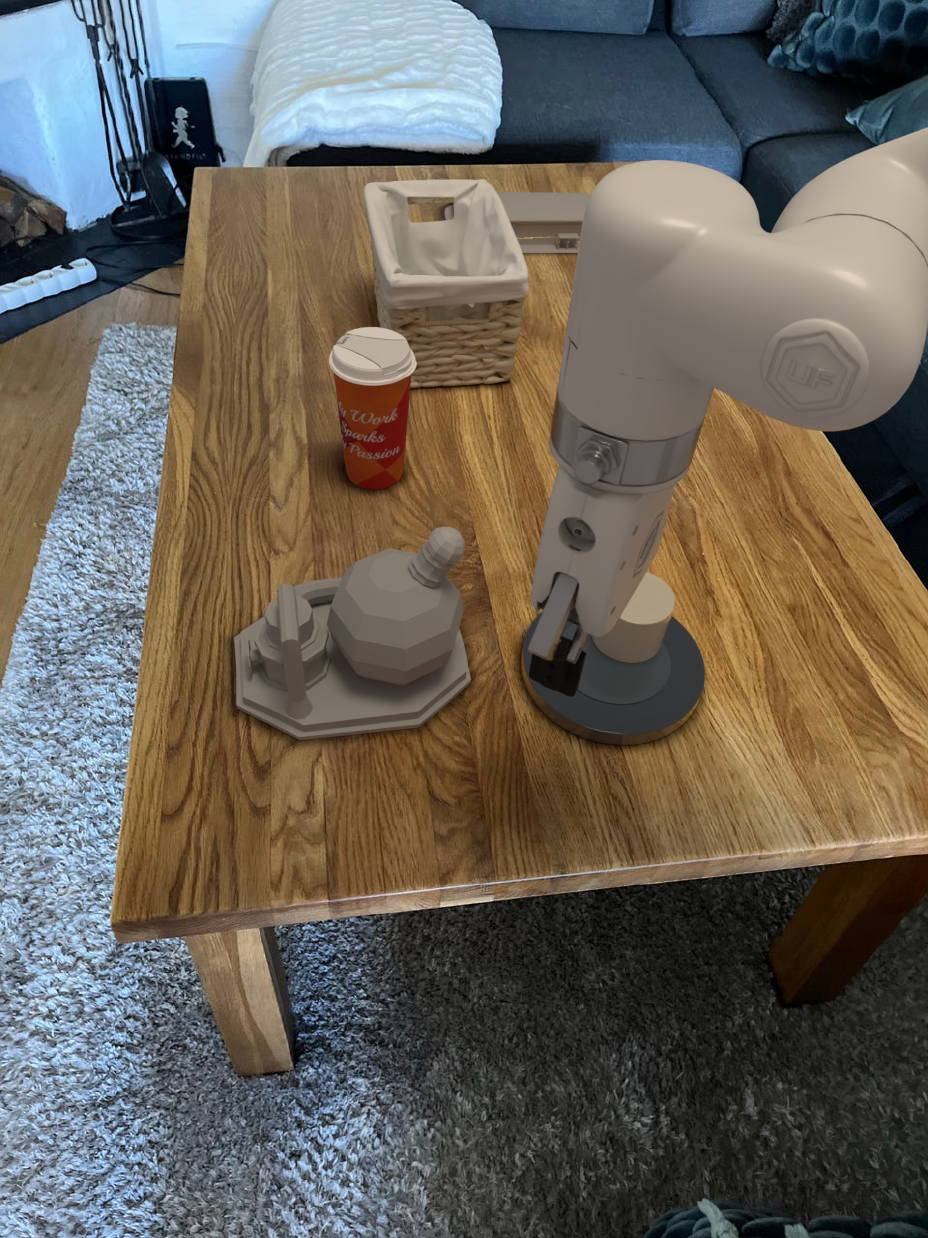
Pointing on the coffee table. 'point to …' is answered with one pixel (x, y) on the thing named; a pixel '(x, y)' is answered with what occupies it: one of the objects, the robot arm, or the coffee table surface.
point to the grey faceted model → (359, 646)
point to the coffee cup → (373, 403)
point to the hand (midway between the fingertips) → (575, 646)
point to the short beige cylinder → (640, 623)
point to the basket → (448, 279)
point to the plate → (625, 690)
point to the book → (543, 219)
